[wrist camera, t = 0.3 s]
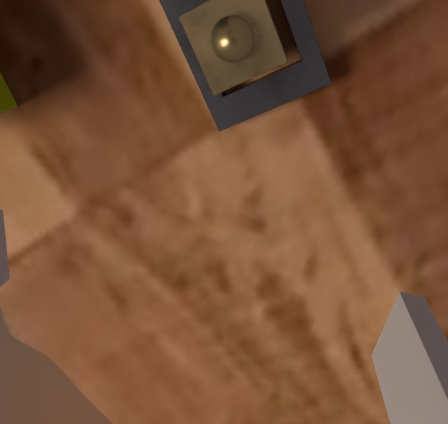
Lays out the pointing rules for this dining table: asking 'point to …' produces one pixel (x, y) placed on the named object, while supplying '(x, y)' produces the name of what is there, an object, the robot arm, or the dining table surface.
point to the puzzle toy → (6, 97)
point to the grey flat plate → (263, 87)
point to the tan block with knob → (233, 41)
